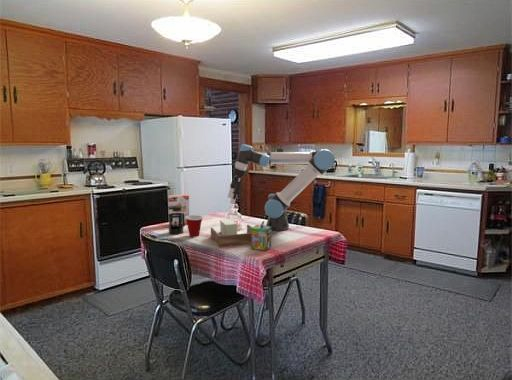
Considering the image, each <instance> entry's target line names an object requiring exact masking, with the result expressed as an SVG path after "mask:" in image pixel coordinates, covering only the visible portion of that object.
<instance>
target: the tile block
mask: <svg viewBox="0 0 512 380" xmlns="http://www.w3.org/2000/svg"><path fill="white" fill-rule="evenodd" d="M219 223H220V224H219V227H220V233H221V235H222V236H225V235H235V234H238V224H237V223H236V222H235V221H234V220H233V219H221V220H220V221H219Z"/></svg>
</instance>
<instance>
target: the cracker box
mask: <svg viewBox="0 0 512 380" xmlns="http://www.w3.org/2000/svg"><path fill="white" fill-rule="evenodd" d="M172 197H178V198H176V200H174V198H172ZM167 198H168V207H169V206H182V210H181V211H176V213H184V222H185V226H188V225H187V221H186V218H185V217H186V216H189V215H190V195H189V194H171V195H168V197H167ZM171 213H175V211H173V210H172V209H171V210H169V209H168V214H171ZM172 216H175V215H172ZM176 216H178V215H176ZM177 221H178V222H179V217H178V218H176V222H177ZM173 222H175V218H173ZM173 226H177V225H173ZM182 226H183V222H182Z"/></svg>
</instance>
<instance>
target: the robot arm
mask: <svg viewBox="0 0 512 380" xmlns="http://www.w3.org/2000/svg"><path fill="white" fill-rule="evenodd" d="M253 148H254V147H253V146H251V145H249V144H243V143H242V144H241V146H240V148H239V150H238V154H237V158H236V162H234V169H233V171H232V173H233V174H234V175H233V177H232V180H231V183H230V188H229V191H228V194H227V198H229V199H230V202H229V204H233V205H235V204H236V200H237V197H238V195H239V194H240V189H241V188H240V187H241V183H242V178H241V177H245V176H246V171H247V169H248V166H249V163H250V164H251V163H252V164H254V165H257V166H260V167H264V168H266V167H268V165H275V164H276V165H277V164H278V165H284V164H285V165H306V167H304V169H303V170H302V171H301V172H299V174H298V175H296V176H295V177H294V179H292V181H290V182H289V183H288V184H287V185H286V186H285V187H284V188H283V189H282V190H281V191H279V192H276V193H270V194H268V197H267V198H268V200H267V201H266V202H265V205H264V212H265V214H266V215H267V216H268V218H267V222H266V225H265V226H271V231H279V232H280V231H287V230H289V228H290V224H289V221H288V217H287V209H289V207H290V206H291V202H292V201H293V200H294V199H295V198H296V197H298V195H300V193H301V192H303V190H305V189H306V188H307V187H308V186H309V185H310V184H311V183H312V182H313V181H314V180H315V179H316V178H317V177H318V176H322V175H324V174H325V173H326V172H327V171H328V170H329V169H331V168H332V167H333V165H334V164H335V161H336V157H335V154H334V153H333V152H332V151H331V150H330V149H328V148H321V149H316V150H310V151H275V152H274V151H272V152H271V151H267V152H266V151H261V152H258V151H255V150H254V149H253Z"/></svg>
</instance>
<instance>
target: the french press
mask: <svg viewBox="0 0 512 380" xmlns="http://www.w3.org/2000/svg"><path fill="white" fill-rule="evenodd" d="M172 198H174V200H176V198H178V197H172ZM167 209H168V211H169V210H171V209H172V210H173V211H175V213H171V214H169V213H168V214H167V217H168V225H169V227H168V234H169V235H172V236H174V235H176V236H177V235H181V234H183V233H184V227H185V226H186V225H185V222H184V213H176V211H181V210H182V206H169V205H168V207H167ZM172 215H175V216H172ZM176 215H178V216H176ZM178 217H179V222H178V221H177V222H176V218H178ZM173 218H175V222H173ZM182 222H183V225H182ZM173 225H176V226H173Z"/></svg>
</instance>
